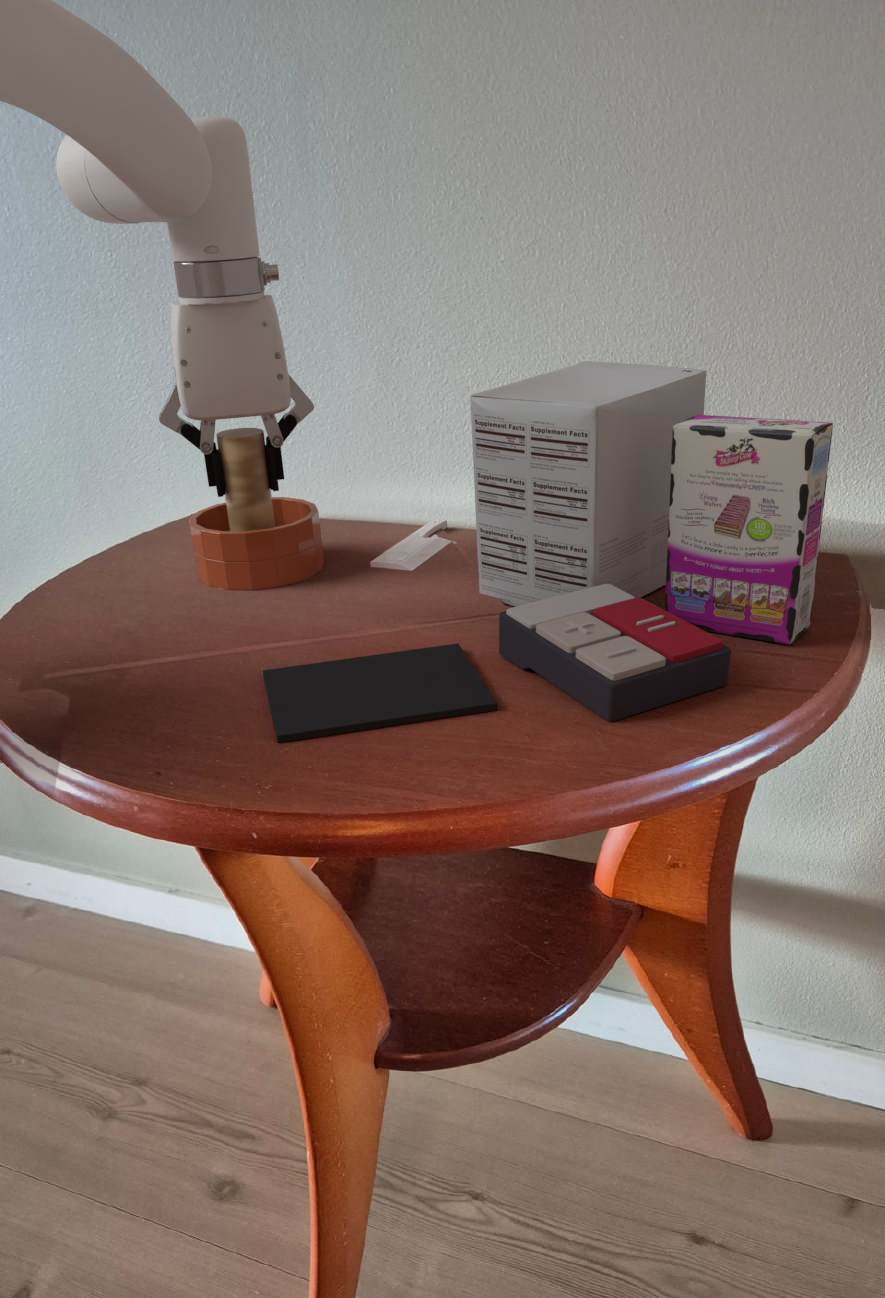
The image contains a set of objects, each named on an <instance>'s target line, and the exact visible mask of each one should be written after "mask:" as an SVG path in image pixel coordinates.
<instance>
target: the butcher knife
mask: <svg viewBox="0 0 885 1298" xmlns="http://www.w3.org/2000/svg"><path fill="white" fill-rule="evenodd" d="M447 528H448V520H447V519H439V518H433V519H432V520H430V521H429V522H427V523H426V524H424V525H423V526H421V527H420V528H418V529H417V530H415V531H414V532H412V533H411V534H409V535H408V536H406V537H405V538H403V539H402V540H400V541H398V542H397V543H395V544H394V545H392V546H391V547H389V548H388V549H386V550H385V551H384V552H382V553H381V554H380V555H378V556H377V557H375V558H373V560H371V561H370V562H369V565H370V567H371V568H380V569H388V570H389V569H390V570H400V571H402V570H403V571H411V572H412V571H413V570H415V569H416V568H418V567H419V566H420V565H422V564H423V563H425V562H426V561H428V559H430V558H432V557H433V556H434V555H436V554H437V553H438V552H440V551H441V550H442V549H444V548H445V547H446V546H448V545H449V544H451V543H453V544H454V545H457V544H458V542H457V541H454V540H451V539H447V538H444V537H439V535H438V534H434V533H435V532H437V531H438V530H439V531H440V529H441V530H442V531H444V530H445V529H447ZM432 534H433V535H432ZM431 535H432V536H431Z"/></svg>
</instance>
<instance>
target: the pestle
mask: <svg viewBox="0 0 885 1298" xmlns="http://www.w3.org/2000/svg"><path fill="white" fill-rule="evenodd" d="M215 435H216V436H215V437H216V444H217V449H218V450H219V454H220V461H221V468H222V475H223V482H224V489H225V495H224V498H225V503H226V506H227V513H228V520H229V527H230V531H252V530H261V529H269V528H274V527H275V521H274V513H273V504H272V497H273V496H272V490H271V488H270V480H269V472H268V464H267V456H266V447H265V445H266V438H265V432H264V430H263V429H262V428H258V427H238V428H236V427H235V428H230V429H225V430H221V431H218V432H217V433H216V434H215Z"/></svg>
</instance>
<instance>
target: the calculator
mask: <svg viewBox="0 0 885 1298" xmlns="http://www.w3.org/2000/svg"><path fill="white" fill-rule="evenodd" d="M498 653H499V655H500V656H501V657H503V658H504V659H506V660H508V662H510V663H512V664H513V665H515V666H516V667H518V668H519V669H520V670H522V671H525V670H528V669H530V670H532V671H534V673H536V674H538V675H539V676H541V677H542V678H544V679H545V680H547V681H548V682H549V683H551V684H553V685H554V686H555V687H557V688H558V689H560V690H562V691H563V692H565V693H566V694H567V695H569V696H570V697H571V698H573V699H575V700H576V701H578V702H579V703H581V704H582V705H583V706H585V707H586V708H588V709H589V710H590V711H592V712H593V713H595V714H597V715H598V716H599V717H601V718H602V719H604V720H606V721H607V722H615V721H616V722H617V721H619V720H622V719H625V718H629V717H632V716H634V715H638V714H640V713H644V712H647V711H649V710H653V709H656V708H659V707H662V706H666V705H668V704H672V703H675V702H679V701H682V700H685V699H688V698H691V697H695V696H697V695H701V694H704V693H707V692H709V691H713V690H715V689H720V688H723V687H724V686H726V685H727V684H728V679H729V671H730V663H731V655H732V649H731V648H730V647H729V646H727V645H725V644H724V641H723V640H722V639H721V638H719V637H717V636H715V635H713V634H711V633H709V632H708V631H705V630H702V629H700V628H698V627H696V626H694V625H692V624H690V623H688V622H686V621H684V620H683V619H681V618H679V617H677V616H675V615H673V614H671V613H669V612H667V611H665V610H664V609H663V608H662V607H660V606H658V605H655V604H654V603H652V602H650V601H648V600H646V599H645V598H643V597H641V598H635V597H634V596H632V595H630V594H628V593H626V592H625V591H623V590H621V589H619V588H617V587H615V586H613V585H611V584H603V585H599V586H595V587H591V588H587V589H583V590H579V591H575V592H571V593H567V594H563V595H560V596H556V597H552V598H548V599H544V600H540V601H536V602H532V603H528V604H524V605H520V606H517V607H516V606H512V607H510V608H507V609H506V610H504V611H501V612H500V613H498Z"/></svg>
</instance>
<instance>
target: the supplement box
mask: <svg viewBox="0 0 885 1298" xmlns="http://www.w3.org/2000/svg"><path fill="white" fill-rule="evenodd" d="M706 383H707V370H704V369H697V368H690V367H689V368H688V367H678V366H677V367H676V366H664V365H651V364H638V363H623V362H621V363H620V362H607V361H606V362H605V361H589V360H584V361H581V362H578V363H575V364H572V365H569V366H566V367H563V368H559V369H556V370H553V371H549V372H546V373H542V374H538V375H535V376H532V377H529V378H524V379H522V380H518V381H515V382H512V383H508V384H505V385H501V386H498V387H494V388H491V389H486V390H483V391H479V392H476V393H472V394H470V396H469V399H470V400H469V401H470V419H471V439H472V440H471V443H472V459H473V460H472V461H473V463H472V464H473V482H474V484H473V485H474V503H475V504H474V505H475V507H474V508H475V527H476V528H475V529H476V549H477V550H476V551H477V566H478V567H477V569H478V589H479V590H478V591H479V594H481V595H484V596H488V597H491V598H495V599H499V600H500V602H501V603H502V604H505V605H509V606H512V607H517V606H520V605H524V604H528V603H532V602H536V601H540V600H544V599H548V598H552V597H556V596H560V595H563V594H567V593H571V592H575V591H579V590H583V589H587V588H591V587H595V586H599V585H603V584H611V585H613V586H615V587H617V588H619V589H621V590H623V591H625V592H626V593H628V594H630V595H632V596H634V597H635V598H643V597H644V596H647V595H649V594H650V593H652V592H654V591H657V590H658V589H660V588H662V587H663V586H666V569H667V547H668V522H669V503H670V481H671V450H672V431H673V426H674V425H676V424H678V423H680V422H682V421H685V420H686V419H688V418H691V417H693V416H696V415H705V401H706V385H707V384H706Z"/></svg>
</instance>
